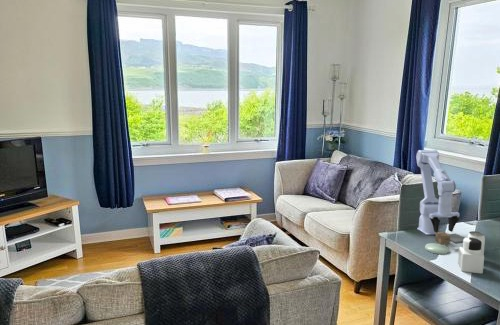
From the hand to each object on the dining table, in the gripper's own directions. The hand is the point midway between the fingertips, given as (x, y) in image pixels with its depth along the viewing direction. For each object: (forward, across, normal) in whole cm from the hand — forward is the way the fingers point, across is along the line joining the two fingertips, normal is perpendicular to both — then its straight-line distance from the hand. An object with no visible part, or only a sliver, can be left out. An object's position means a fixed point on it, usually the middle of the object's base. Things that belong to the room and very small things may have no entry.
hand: (443, 231), depth 182 cm
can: (+6, +2, -20) cm, 21 cm away
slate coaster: (+6, +9, +3) cm, 11 cm away
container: (+6, -6, -28) cm, 29 cm away
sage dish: (+6, -8, -8) cm, 13 cm away
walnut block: (+6, 0, 0) cm, 6 cm away
